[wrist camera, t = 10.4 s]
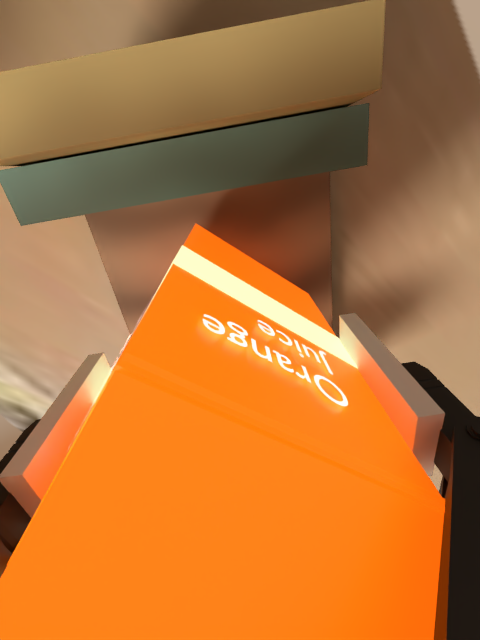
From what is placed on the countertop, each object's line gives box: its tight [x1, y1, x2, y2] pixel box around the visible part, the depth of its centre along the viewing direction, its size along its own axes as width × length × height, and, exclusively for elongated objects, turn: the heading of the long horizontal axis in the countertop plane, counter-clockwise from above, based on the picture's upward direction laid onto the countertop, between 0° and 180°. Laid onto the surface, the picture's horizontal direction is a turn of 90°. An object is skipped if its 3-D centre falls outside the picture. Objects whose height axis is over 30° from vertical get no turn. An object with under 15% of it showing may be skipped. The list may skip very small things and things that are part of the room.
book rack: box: [0, 0, 386, 337], centre depth 19 cm, size 24×16×12 cm, turn 9°
